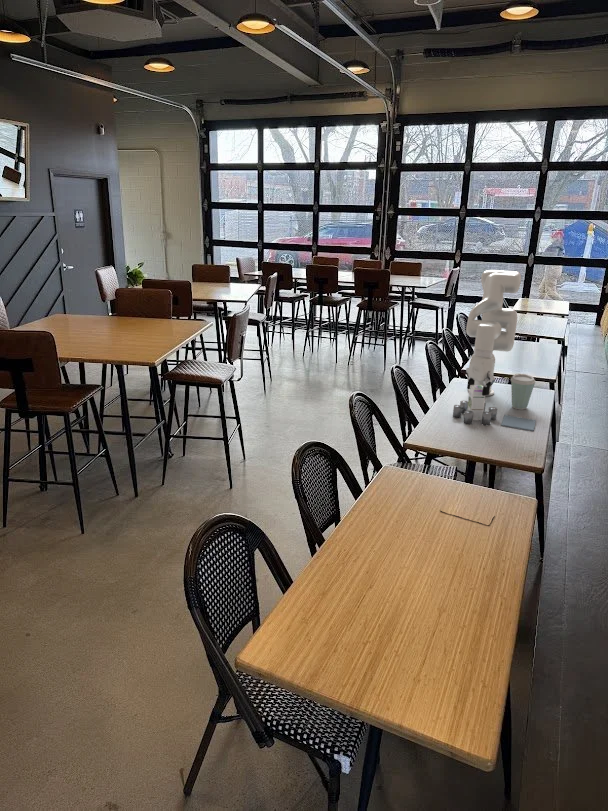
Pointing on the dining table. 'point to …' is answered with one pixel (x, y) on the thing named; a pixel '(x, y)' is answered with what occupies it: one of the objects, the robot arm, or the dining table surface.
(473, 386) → the syrup box
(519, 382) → the disposable coffee cup
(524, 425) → the slate mat
